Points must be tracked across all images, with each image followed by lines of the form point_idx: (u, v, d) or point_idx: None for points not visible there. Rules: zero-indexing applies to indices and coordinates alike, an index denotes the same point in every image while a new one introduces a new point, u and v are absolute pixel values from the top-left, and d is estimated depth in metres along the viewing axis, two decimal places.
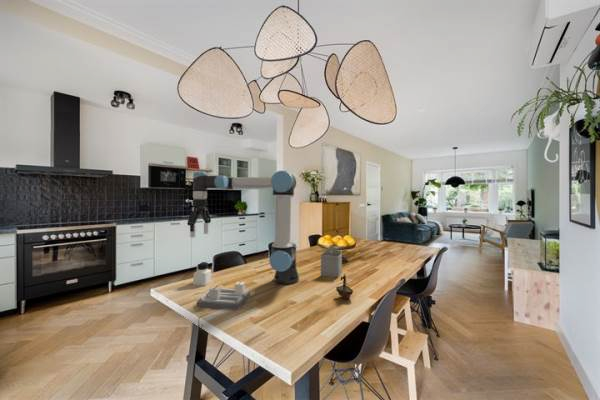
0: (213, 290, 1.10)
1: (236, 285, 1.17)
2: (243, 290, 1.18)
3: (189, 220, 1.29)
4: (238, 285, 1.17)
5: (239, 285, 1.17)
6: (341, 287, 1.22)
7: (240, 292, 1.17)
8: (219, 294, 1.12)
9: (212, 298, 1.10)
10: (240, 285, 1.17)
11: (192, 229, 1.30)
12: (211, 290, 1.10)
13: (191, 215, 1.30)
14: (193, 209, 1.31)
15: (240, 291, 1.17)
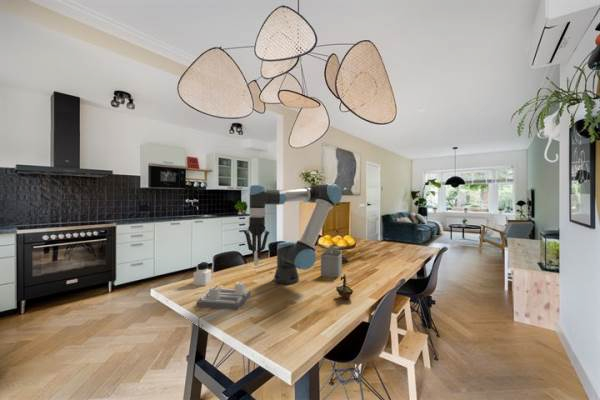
0: (213, 290, 1.10)
1: (236, 285, 1.17)
2: (243, 290, 1.18)
3: None
4: (238, 285, 1.17)
5: (239, 285, 1.17)
6: (341, 287, 1.22)
7: (240, 292, 1.17)
8: (219, 294, 1.12)
9: (212, 298, 1.10)
10: (240, 285, 1.17)
11: (252, 255, 1.17)
12: (211, 290, 1.10)
13: None
14: None
15: (240, 291, 1.17)
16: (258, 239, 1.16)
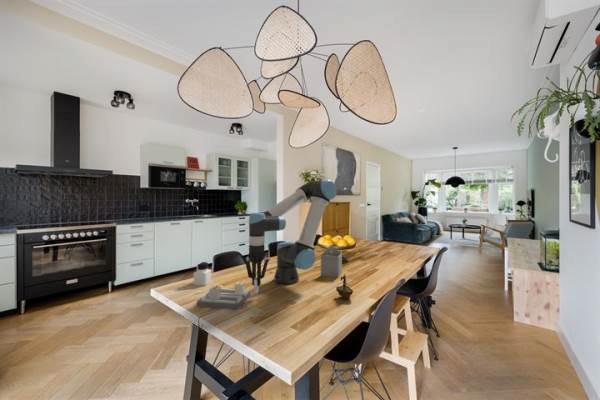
0: (213, 290, 1.10)
1: (236, 285, 1.17)
2: (243, 290, 1.18)
3: None
4: (238, 285, 1.17)
5: (239, 285, 1.17)
6: (341, 287, 1.22)
7: (240, 292, 1.17)
8: (219, 294, 1.12)
9: (212, 298, 1.10)
10: (240, 285, 1.17)
11: (252, 283, 1.17)
12: (211, 290, 1.10)
13: None
14: None
15: (240, 291, 1.17)
16: (258, 267, 1.16)
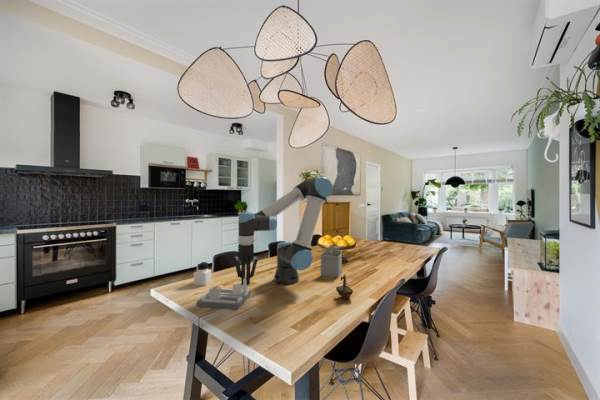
0: (213, 290, 1.10)
1: (234, 285, 1.17)
2: (241, 290, 1.18)
3: None
4: (236, 285, 1.17)
5: (237, 285, 1.17)
6: (341, 287, 1.22)
7: (238, 292, 1.17)
8: (219, 294, 1.12)
9: (212, 298, 1.10)
10: (238, 285, 1.17)
11: None
12: (211, 290, 1.10)
13: None
14: None
15: (238, 291, 1.17)
16: (247, 266, 1.17)
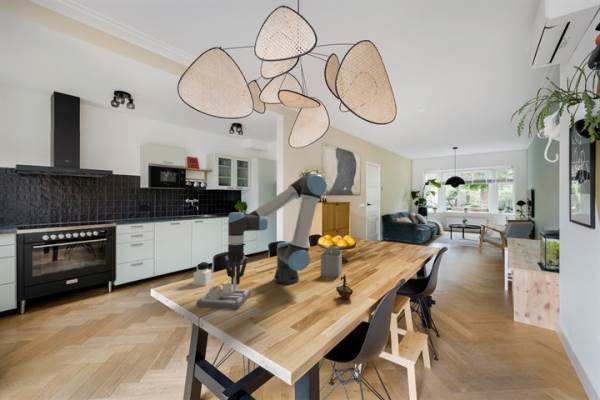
0: (213, 290, 1.10)
1: (224, 284, 1.18)
2: (231, 289, 1.19)
3: None
4: (226, 284, 1.18)
5: (227, 284, 1.18)
6: (341, 287, 1.22)
7: (228, 291, 1.18)
8: (219, 294, 1.12)
9: (212, 298, 1.10)
10: (228, 284, 1.18)
11: (231, 281, 1.18)
12: (211, 290, 1.10)
13: None
14: None
15: (228, 290, 1.18)
16: (237, 266, 1.18)
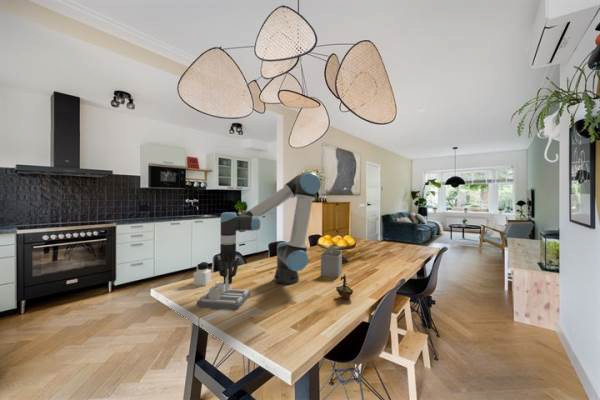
0: (213, 290, 1.10)
1: (216, 284, 1.18)
2: (223, 289, 1.19)
3: None
4: (218, 284, 1.18)
5: (219, 284, 1.18)
6: (341, 287, 1.22)
7: None
8: (219, 294, 1.12)
9: (212, 298, 1.10)
10: (220, 284, 1.18)
11: None
12: (211, 290, 1.10)
13: None
14: None
15: None
16: (229, 265, 1.18)
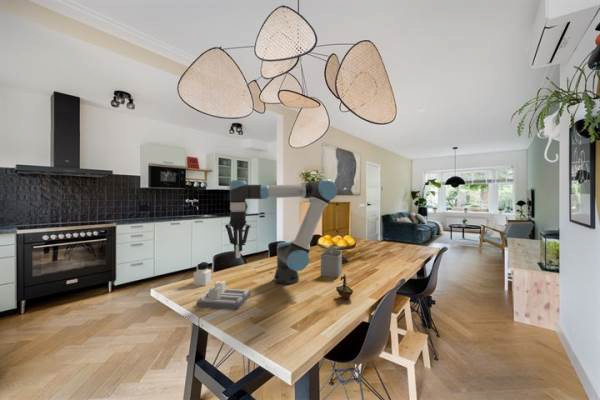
0: (213, 290, 1.10)
1: (216, 284, 1.18)
2: (223, 289, 1.19)
3: None
4: (218, 284, 1.18)
5: (219, 284, 1.18)
6: (341, 287, 1.22)
7: None
8: (219, 294, 1.12)
9: (212, 298, 1.10)
10: (220, 284, 1.18)
11: (234, 248, 1.20)
12: (211, 290, 1.10)
13: None
14: None
15: None
16: (239, 233, 1.19)
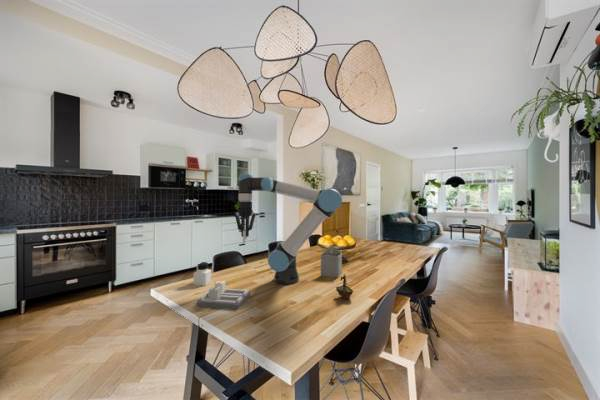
0: (213, 290, 1.10)
1: (216, 284, 1.18)
2: (223, 289, 1.19)
3: None
4: (218, 284, 1.18)
5: (219, 284, 1.18)
6: (341, 287, 1.22)
7: None
8: (219, 294, 1.12)
9: (212, 298, 1.10)
10: (220, 284, 1.18)
11: (241, 234, 1.35)
12: (211, 290, 1.10)
13: None
14: None
15: None
16: (246, 220, 1.35)
